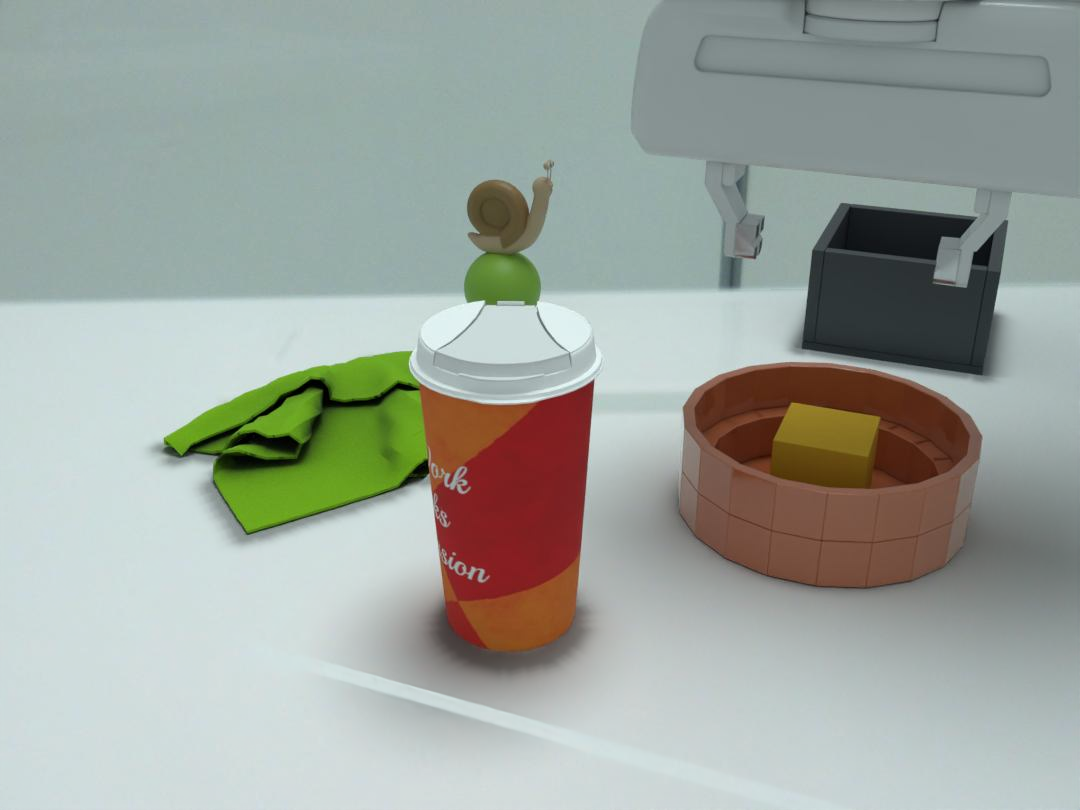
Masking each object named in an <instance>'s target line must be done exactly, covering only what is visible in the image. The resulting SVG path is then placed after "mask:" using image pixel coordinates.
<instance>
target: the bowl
mask: <svg viewBox="0 0 1080 810" xmlns="http://www.w3.org/2000/svg"><path fill="white" fill-rule="evenodd" d="M792 402H793V403H799V404H805V405H811V406H817V407H823V408H829V409H835V410H841V411H847V412H854V413H860V414H866V415H872V416H878V417H880V418H881V419H880V426H879V433H878V440H877V447H876V454H875V460H874V467H873V474H872V481H871V488H870V489H859V488H830V487H823V486H818V485H812V484H807V483H802V482H796V481H791V480H786V479H781V478H778V477H775V476H772V475H770V467H771V457H772V446H773V440H774V437H775V435H776V433H777V431H778V429H779V427H780V425H781V423H782V421H783V419H784V417H785V415H786V413H787V410H788V408H789V406H790V404H791V403H792ZM983 439H984V437H983V434H982V432H981V431H980V429H979V428H978V426H977V424H976V422H975V421H974V419H973V417H972V415H970V414H969V413H968V412H967V411H965V410H964V409H963V408H962V407H961V406H959V405H958V404H957V403H955V402H954V401H952V400H951V399H950V398H949V397H947V396H945V395H944V394H942V393H939V392H938V391H935V390H933V389H931V388H929V387H926V386H925V385H922V384H920V383H919V382H916V381H914V380H911V379H908V378H906V377H901V376H897V375H895V374H891V373H887V372H884V371H881V370H876V369H872V368H867V367H861V366H853V365H846V364H839V363H833V362H814V361H813V362H811V361H809V362H807V361H782V362H774V363H764V364H756V365H748V366H745V367H741V368H738V369H734V370H731V371H726V372H723V373H720V374H718V375H715V376H714V377H712V378H711V379H709V380H707V381H706V382H703V383H702V384H701V385H699V386H698V387H695V388H694V389H693V391H692V392H691V394H690V395H689V397H688V398H687V400H686V401H685V403H684V405H683V406H682V411H681V427H680V442H679V443H680V445H679V461H678V462H679V463H678V478H677V499H678V512H679V515H681V517H682V518H683V520H684V521H685V523H686V525H687V526H688V527H689V528H690V530H691V531H692V533H693V535H695V537H696V538H697V539H698V540H700V541H702V543H704V544H706V545H707V546H708V547H710V548H711V549H712V550H713V551H715V552H716V553H718V554H719V555H721V556H722V557H723V558H725V559H726V560H730V561H732V562H734V563H736V564H739V565H740V566H744V567H745V568H748V569H751V570H752V571H755V572H758V573H760V574H762V575H764V576H769V577H774V578H778V579H782V580H788V581H792V582H797V583H800V584H801V583H802V584H805V585H810V586H818V587H840V588H841V587H842V588H873V587H880V586H886V585H892V584H899V583H904V582H910V581H914V580H916V579H918V578H921V577H923V576H926V575H927V574H929V573H932V572H934V571H936V570H939V569H941V568H943V567H945V566H946V565H947V564H948V563H949V562H950V560H952V559H953V557H954V556H956V554H957V553H958V552H959V551H960V550H961V549H962V548H963V547H964V544H965V539H966V535H967V528H968V523H969V518H970V513H971V508H972V501H973V497H974V492H975V486H976V482H977V475H978V470H979V464H980V461H981V460H980V459H981V454H982V453H981V452H982V446H983Z"/></svg>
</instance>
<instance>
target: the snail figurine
mask: <svg viewBox="0 0 1080 810" xmlns="http://www.w3.org/2000/svg"><path fill="white" fill-rule="evenodd" d="M554 166H555V162H554V160H553V159H547V161H545V162H544V163H543V167H542V168H543V169H544V170H545V171H546V173H547V174H546V175H547V176H539V177H537V178H535V179H534V180H533V182H532V187H531V188H532V193H533V199H532V203H531V207H530V209H529V205H528V202H527V199H526V197H525V196H524V195H523V193H522V192H521V190H519V189H518V188H517V187H516V186H515V185H513V184H511V183H510V182H508V181H505V180H502V179H487V180H485V181H482V182H481V183H478V184H477V185H476V186H475V187H474V188H473V189H472V191H470V194H469V196H468V198H467V203H466V213H467V219H468V221H469V222H470V224H471V225H472V226H473V228H474V229H475V230H476V231H477V232H474V231H470V232H467V238H468V239H469V240H470V242H471V243H472V244H473V245H474V246H475V247H476V248H477V249H479V250H480V251H482V252H484V253H482V254H480V255H479V256H478V257H477V258H476V259H475V260H474V261H473V262H472V263H471V264H470V266H469V267H468V269H467V271H466V275H465V276H464V281H463V292H464V298H465V301H466V303H471V302H477V301H484V300H485V306H486V305H497V301H524V302H525V305H527V306H535V308H537V301H540V298H541V293H542V292H541V291H542V282H541V278H540V277H541V276H540V275H539V272H538V270H537V268H536V266H535V265H534V263H533V262H532V261H531V260H530V259H529V258H528V257H527V256H525V254H522V253H521V252H523V251H525V250H527V249H529V248H530V247H532V246H533V245H534V244H535V243H536V242H537V240H538V239H539V237H540V235H541V233H542V231H543V228H544V225H545V221H546V218H547V214H548V210H549V203H550V199H551V196H552V194H553V187H554V183H553V181H552V179H551V178H552V169H553V167H554ZM549 171H550V172H549Z"/></svg>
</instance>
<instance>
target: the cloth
mask: <svg viewBox="0 0 1080 810" xmlns="http://www.w3.org/2000/svg"><path fill="white" fill-rule="evenodd" d="M413 351H414V350H402V351H401V350H400V351H392V352H386V353H380V354H374V355H372V356H359V357H356V358H354V359H350V360H348V361H346V362H340V363H339V362H338V363H334V364H331V365H326V364H325V365H318V366H313V367H309V368H306V369H304V370H299V371H295V372H292V373H289V374H286V375H283V376H280V377H277V378H275V379H274V380H272V381H270V382H269V383H267V384H265V385H263V386H260V387H258V388H254V389H251V390H249V391H246V392H243V393H242V394H241V395H238V396H236V397H234V398H233V399H231V400H230V401H228V402H224V403H222V404H218V405H216V406H214V407H213V408H210V409H207V410H205V411H204V412H202V413H201V414H200V415H198V416H197V417H195V418H193V419H192V420H190V421H189V423H187V424H185V425H183V426H181V427H180V428H178V429H176V430H175V431H173V432H171V433H170V434H168V435H166V436H164V437H163V445H164V446H165V447H170V448H174V450H175V451H176V452H177V453H178V454H179V455H180V456H183V455H184V454H185V453H186V452H187V451H189V452H195V453H204V454H212V455H213V454H219V453H220V454H219V455H218V456H217V457H216V459H215V460H214V461H213V466H212V478H213V481H214V482H215V485H216V486H215V487H217V489H218V491H219V492H220V495H222V497H223V499H224V501H225V502H226V503H227V505H228V506H229V508H230V509H231V511H232V513H233V515H234V516H235V517H236V519H237V520H238V522H239V523H240V524H241V525H242V527H243V529H244V530H245V532H246V534H251V533H254V532H257V531H260V530H264V529H268V528H271V527H274V526H279V525H282V524H285V523H288V522H291V521H295V520H298V519H302V518H305V517H308V516H311V515H315V514H318V513H321V512H324V511H329V510H332V509H334V508H338V507H341V506H345V505H349V504H351V503H354V502H357V501H361V500H364V499H367V498H371V497H374V496H376V495H380V494H382V493H385V492H389V491H392V490H394V489H397V488H399V487H400V486H401V484H403V482H405V480H406V479H407V478H425V477H427V476H429V475H430V473H429V465H428V456H427V448H426V439H425V430H424V422H423V413H422V405H421V396H420V388H419V381H417V380H416V379H415V378H414V376H413V375H412V373H411V372H410V368H409V360H410V356H411V354H412V352H413ZM251 433H256V434H259V435H257V436H255V437H254V438H252V439H250V440H248V441H247V442H246V443H245V444H238V443H239V442H240V441H242V440H243V439H245V438H246V437H247V436H248V435H250V434H251ZM236 444H238V445H236Z"/></svg>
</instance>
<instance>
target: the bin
mask: <svg viewBox="0 0 1080 810" xmlns="http://www.w3.org/2000/svg"><path fill="white" fill-rule="evenodd" d="M977 218H978V216H973V215H965V214H955V213H944V212H936V211H935V212H934V211H924V210H915V209H908V208H907V209H906V208H896V207H887V206H886V207H885V206H879V205H878V206H877V205H865V204H858V203H847V202H840V203H839V205H838V207H837V208H836V210H835V212H834V213H833V215H832V217H831V218H830V220H829V222H828V223H827V225H826V226H825V228H824V230H823V231H822V233H821V234H820V237H818V239H817V241H816V243H815V245H814V247H813V248H812V249H811V256H810V257H811V258H810V267H809V275H808V276H809V277H808V287H807V296H806V303H805V313H804V314H805V315H804V323H803V334H802V341H801V342H802V343H801V350H806V351H814V352H819V353H827V354H834V355H840V356H847V357H854V358H861V359H866V360H867V359H868V360H874V361H880V362H888V363H893V364H894V363H895V364H900V365H907V366H914V367H923V368H929V369H937V370H941V371H948V372H956V373H962V374H969V375H976V376H983V372H984V367H985V362H986V357H987V356H986V355H987V351H988V345H989V340H990V335H991V328H992V324H993V319H994V314H995V313H994V312H995V308H996V302H997V296H998V291H999V285H1000V280H1001V274H1002V269H1003V261H1004V260H1003V259H1004V254H1005V248H1006V240H1007V234H1008V227H1009V219H1005V220H1004V221H1003V223H1002V224H1001V225H1000V226H999V227H998V228H997V229H996V230H995V231H994V233H993V234H992V235H991V236H990V237H989V238H988V239H987V240H986V241H985V243H984V244H983V245H982V246H981V247H980V248H979V249H978V250H977V251H976V252H975V251H974V253H973V259H972V264H971V270H970V275H969V279H968V284H967V288H964V287H957V286H949V285H942V284H935V283H933V277H934V271H935V268H936V264H937V263H936V259H937V253H938V248H939V244H940V241H941V238H942V237H953V238H961V236H962V235H963V234H964V233H965V232H966V231H967V229H968V228H969V227H970V226H971V225H972V223H973V222H974V221H975V220H976V219H977Z"/></svg>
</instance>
